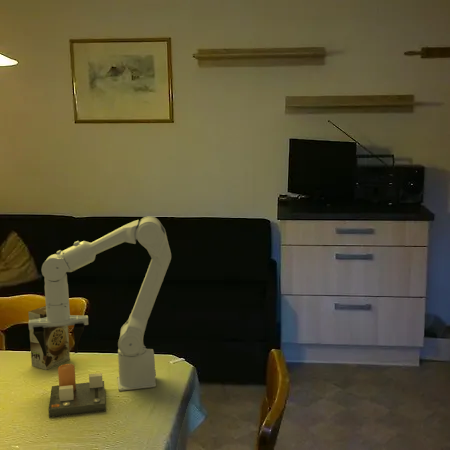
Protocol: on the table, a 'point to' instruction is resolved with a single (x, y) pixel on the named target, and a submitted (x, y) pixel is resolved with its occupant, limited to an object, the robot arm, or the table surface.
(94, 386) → the block
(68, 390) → the block
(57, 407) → the breaker panel
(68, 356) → the coffee box
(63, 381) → the cap
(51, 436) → the table surface
